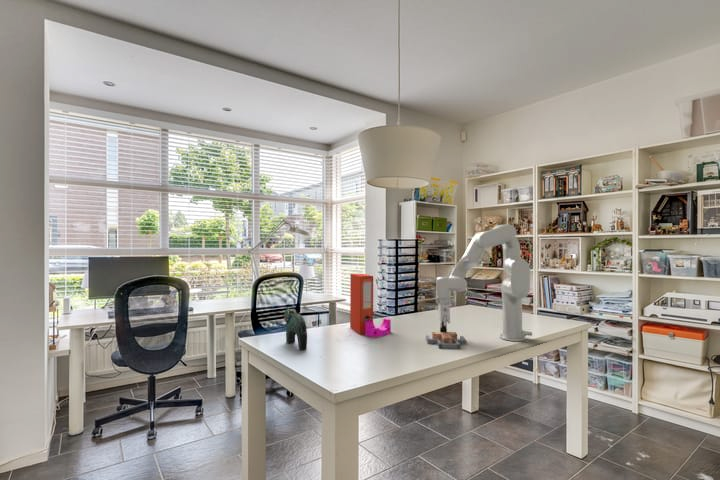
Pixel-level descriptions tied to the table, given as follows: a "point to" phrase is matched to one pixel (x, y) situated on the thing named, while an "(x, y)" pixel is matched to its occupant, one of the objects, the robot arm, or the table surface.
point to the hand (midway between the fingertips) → (443, 335)
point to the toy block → (380, 331)
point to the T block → (445, 336)
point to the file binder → (361, 301)
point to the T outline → (446, 345)
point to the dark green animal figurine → (295, 328)
